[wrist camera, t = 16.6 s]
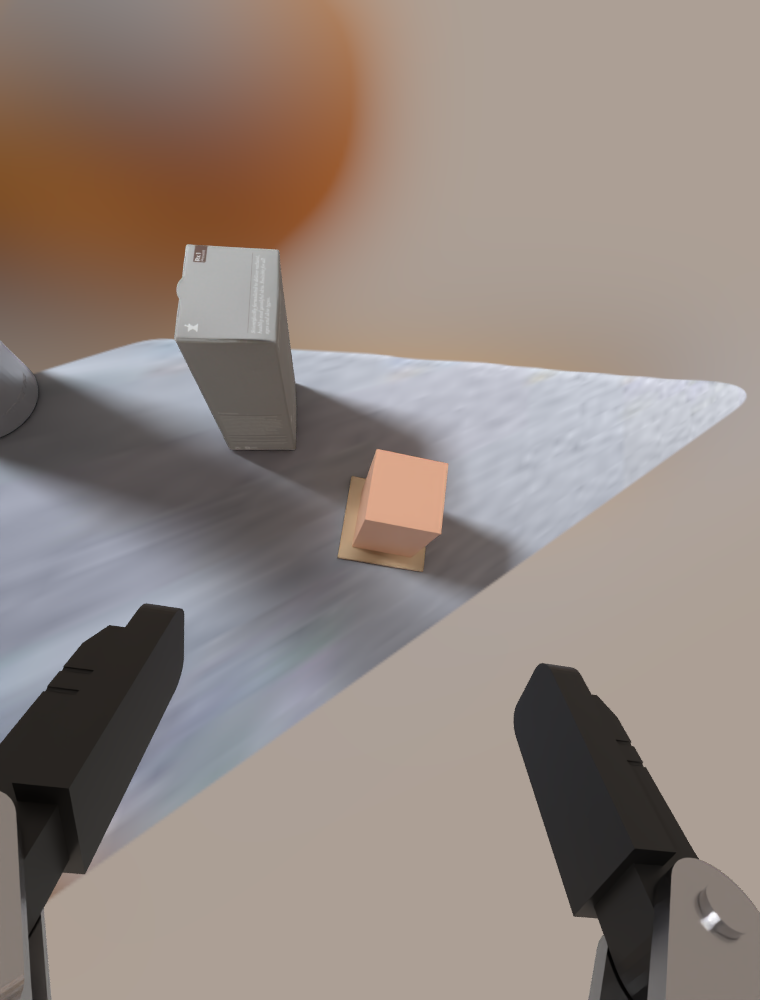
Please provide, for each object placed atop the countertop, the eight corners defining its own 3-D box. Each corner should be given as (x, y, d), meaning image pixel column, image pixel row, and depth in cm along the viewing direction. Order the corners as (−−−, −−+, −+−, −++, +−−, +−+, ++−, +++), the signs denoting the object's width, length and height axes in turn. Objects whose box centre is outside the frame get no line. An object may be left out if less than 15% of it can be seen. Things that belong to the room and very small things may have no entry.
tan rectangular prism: (352, 546, 39) (365, 519, 30) (361, 490, 41) (376, 448, 32) (411, 557, 40) (441, 533, 31) (418, 501, 41) (448, 463, 32)
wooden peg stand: (337, 557, 39) (343, 540, 32) (351, 477, 42) (359, 445, 35) (421, 571, 40) (446, 557, 33) (430, 492, 42) (454, 463, 35)
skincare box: (296, 452, 41) (289, 349, 27) (219, 451, 40) (168, 342, 25) (296, 378, 44) (290, 245, 29) (224, 375, 43) (180, 234, 28)
